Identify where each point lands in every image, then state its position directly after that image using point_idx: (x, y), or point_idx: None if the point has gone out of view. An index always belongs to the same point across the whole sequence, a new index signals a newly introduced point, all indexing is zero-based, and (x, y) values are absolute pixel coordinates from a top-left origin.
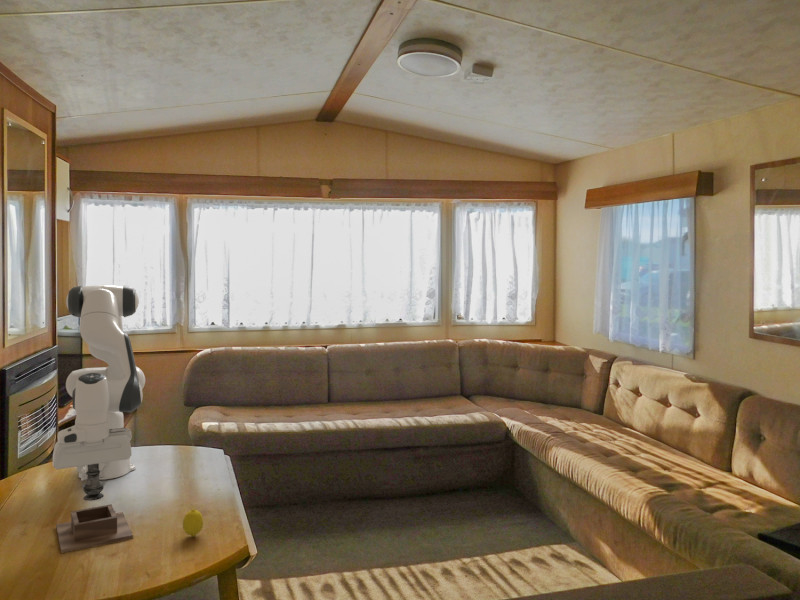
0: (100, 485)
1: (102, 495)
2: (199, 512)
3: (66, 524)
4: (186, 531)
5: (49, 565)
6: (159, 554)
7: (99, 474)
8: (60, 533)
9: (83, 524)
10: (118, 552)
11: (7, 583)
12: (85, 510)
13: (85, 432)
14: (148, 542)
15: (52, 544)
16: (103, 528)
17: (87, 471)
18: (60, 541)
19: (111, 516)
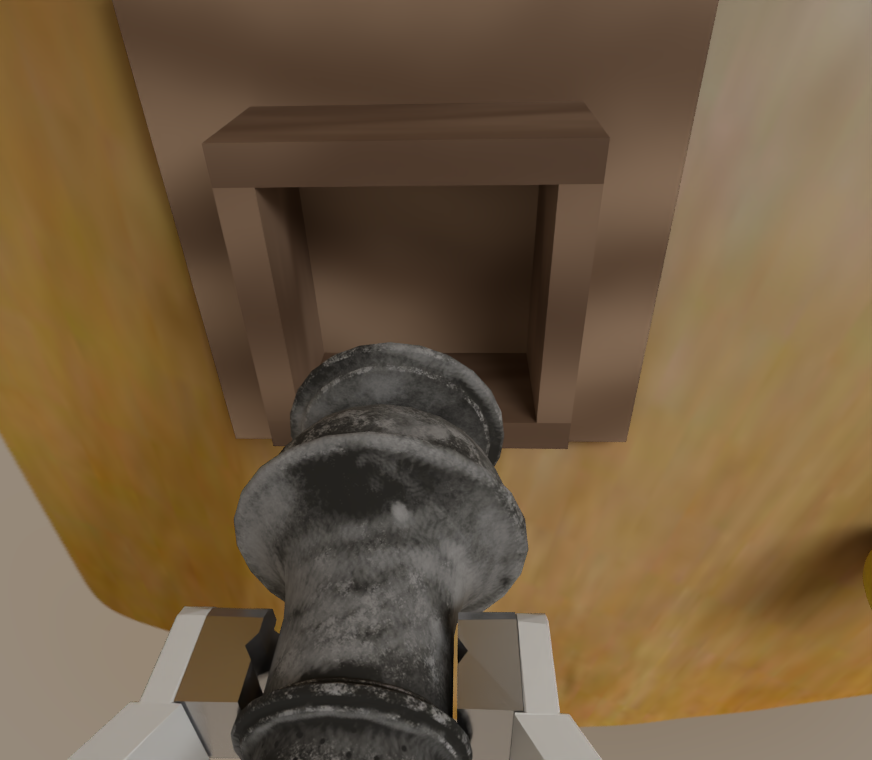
0: (461, 610)
1: (488, 450)
2: None
3: (202, 36)
4: (864, 587)
5: (208, 504)
6: (663, 600)
7: (463, 661)
8: (188, 215)
9: None
10: None
11: (75, 560)
12: (342, 184)
13: None
14: (673, 497)
15: (169, 296)
16: None
17: (245, 741)
18: (213, 339)
19: (537, 402)
